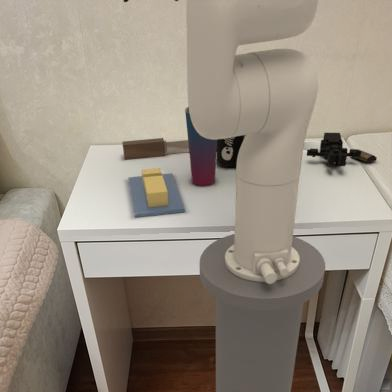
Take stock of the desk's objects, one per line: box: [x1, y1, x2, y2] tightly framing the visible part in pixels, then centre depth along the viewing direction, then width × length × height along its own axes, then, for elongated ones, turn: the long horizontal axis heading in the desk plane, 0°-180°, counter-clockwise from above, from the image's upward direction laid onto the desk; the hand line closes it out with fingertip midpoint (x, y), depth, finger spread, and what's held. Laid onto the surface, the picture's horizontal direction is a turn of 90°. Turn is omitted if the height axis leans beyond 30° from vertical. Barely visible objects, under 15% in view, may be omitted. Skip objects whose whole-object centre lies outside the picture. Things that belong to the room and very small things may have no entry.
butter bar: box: [143, 175, 168, 207], centre depth 101 cm, size 8×4×3 cm, turn 10°
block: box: [354, 148, 378, 162], centre depth 116 cm, size 4×6×2 cm, turn 30°
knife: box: [122, 137, 189, 160], centre depth 121 cm, size 2×19×4 cm, turn 100°
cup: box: [184, 106, 217, 187], centre depth 105 cm, size 7×7×15 cm
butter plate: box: [127, 172, 186, 218], centre depth 105 cm, size 18×10×1 cm, turn 10°
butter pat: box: [141, 167, 163, 185], centre depth 106 cm, size 2×4×3 cm, turn 100°
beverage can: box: [216, 135, 244, 169], centre depth 113 cm, size 7×7×12 cm
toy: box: [306, 132, 362, 167], centre depth 114 cm, size 12×5×15 cm
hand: (151, 0), depth 95 cm, fingers open, 9 cm apart
